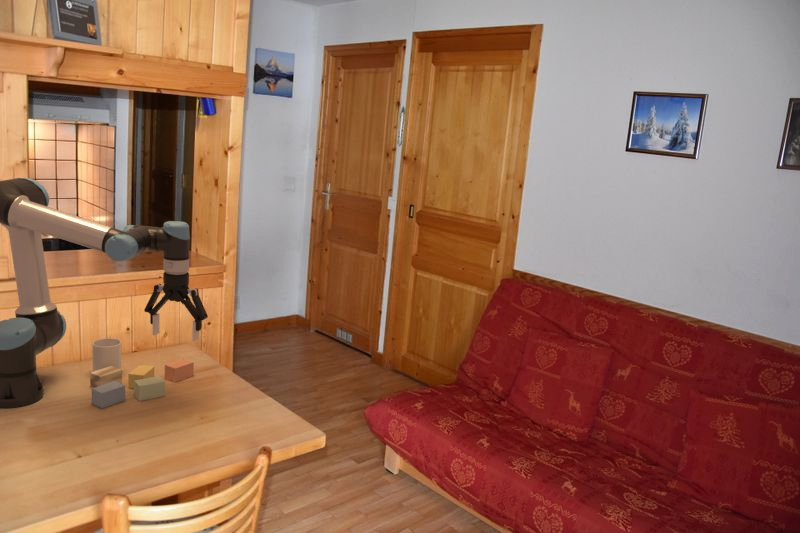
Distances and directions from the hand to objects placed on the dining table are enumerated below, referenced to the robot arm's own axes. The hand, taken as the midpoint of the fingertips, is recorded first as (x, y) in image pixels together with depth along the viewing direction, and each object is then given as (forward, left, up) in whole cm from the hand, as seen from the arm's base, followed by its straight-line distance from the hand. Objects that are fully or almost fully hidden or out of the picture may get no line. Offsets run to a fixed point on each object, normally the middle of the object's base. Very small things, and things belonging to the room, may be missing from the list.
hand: (175, 337), depth 206 cm
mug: (-29, -3, -19) cm, 35 cm away
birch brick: (-20, -10, -19) cm, 30 cm away
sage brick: (-4, -6, -19) cm, 21 cm away
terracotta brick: (-9, +10, -19) cm, 24 cm away
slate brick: (-9, -17, -19) cm, 27 cm away
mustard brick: (-13, -2, -19) cm, 24 cm away
